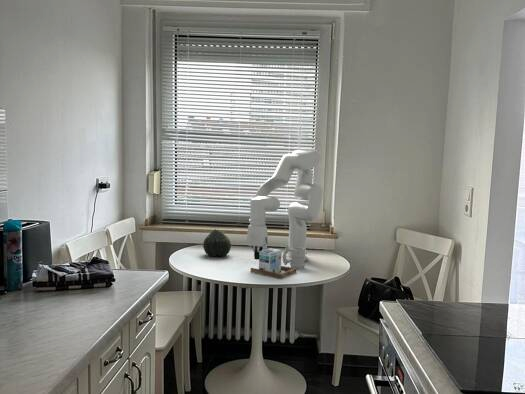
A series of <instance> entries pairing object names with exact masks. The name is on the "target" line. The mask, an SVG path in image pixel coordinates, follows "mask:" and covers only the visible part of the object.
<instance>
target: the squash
mask: <svg viewBox="0 0 525 394" xmlns="http://www.w3.org/2000/svg"><path fill="white" fill-rule="evenodd" d="M202 246H203V250H204V252H205V254H207V256H209V257H216V256H219V257H221V258H224V257H226V256H227V255H228V254H229V253H230V251H231V247H232V243H231V241H230V238H229V237H228V236H227V235H226V234H224V233H223V232H221V231H220V230H219V229H215V228H214V230H212V231H211V232H210V233H209V234H208V235H207V236H206V237H205V239H204V240H203V244H202Z"/></svg>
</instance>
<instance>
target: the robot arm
mask: <svg viewBox="0 0 525 394" xmlns="http://www.w3.org/2000/svg"><path fill="white" fill-rule="evenodd" d="M321 160H322V156H321V153H320V152H319V151H318V150H314V149H296V150H294V151H293V152H292V153H286V154H284V155H283V156H282V158H281V160H280V161H279V164H278V165H277V167H276V169H275V172H274V173H273V174H272V176H271V177H270V178H269V179H267V180H266V181H264V182H263V183H262V184H261V185H260V186H259V187H258V189H257V191H256V193H255V195H254V197H253V198H251V199H250V201H249V202H250V203H249V205H250V210H249V211H250V216H249V217H250V218H249V219H248V223H249V225H248V227H247V233H246V244H247V245H248V247H249V248H252V250H253V258H254V260H258V261H259V251H263V250H266V249H268V245H269V244H268V242H269V238H268V237H269V235H268V228H267V227H268V226H267V225H266V213H267V212H269V213H271V212H276V211H278V210H279V209H280V207H281V201H280V199H278V198H277V197H276V196H271V195H270V194H271V193H272V192H274V191H275V190H278V189H280V188H283V187H285V186H286V185H288V183H289V181H290V179H291V177H292V175H293V173H294V171H296V172H297V175H296V176H297V177H296V181H295V187H294V191H293V192H294V197H295V199H297V200H300V201H307V202H308V203H307V202H300V201H294V202H292V203H290V204H289V206H288V208H287V214H288V215H287V216H288V221H289V222H288V226H289V228H288V244H287V245H288V246H289V249H292V248H304V250H305V257H304V262H307V261H309V257H308V256H307V254H309V251H308V250H306V249H307V246H306V245H307V230H308V228H307V224H306V222H312V223H313V222H315V221H317V220H318V218H319V216H320V211H321V206H322V200H323V189H322V187H321V185H320V184H317V183H313V177H314V174H313V170H312V168H315V167H317V166H319V164H320V163H321ZM269 195H270V196H269ZM291 253H292V252H291V251H289V252H288V253H287V254H286V259H287V260H289V259H291Z"/></svg>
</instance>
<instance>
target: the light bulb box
mask: <svg viewBox="0 0 525 394" xmlns="http://www.w3.org/2000/svg"><path fill="white" fill-rule="evenodd" d="M282 256H283V251H282V249H276V248H272V247H270V248H266V249H263V250H262V251H259V259H258V269H260V270H265V271H270V272H275V273H280V272H281V271H282V270H281V266H282ZM281 273H282V272H281Z"/></svg>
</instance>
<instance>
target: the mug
mask: <svg viewBox="0 0 525 394" xmlns="http://www.w3.org/2000/svg"><path fill="white" fill-rule="evenodd" d="M288 245H289V244H288V243H286V244H285V248H284V252H282V255H281V258H282V263H283V266H287V265H288V264H289V265H290V268H295V269H297V270H304V269H305V267H306V263H305V261H304V257H305V256H306V254H305V250H304V248H292V249H289V246H288ZM289 251H291V252H292V253H291V259H289V260H287V259H286V256H287V255H288V252H289Z"/></svg>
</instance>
